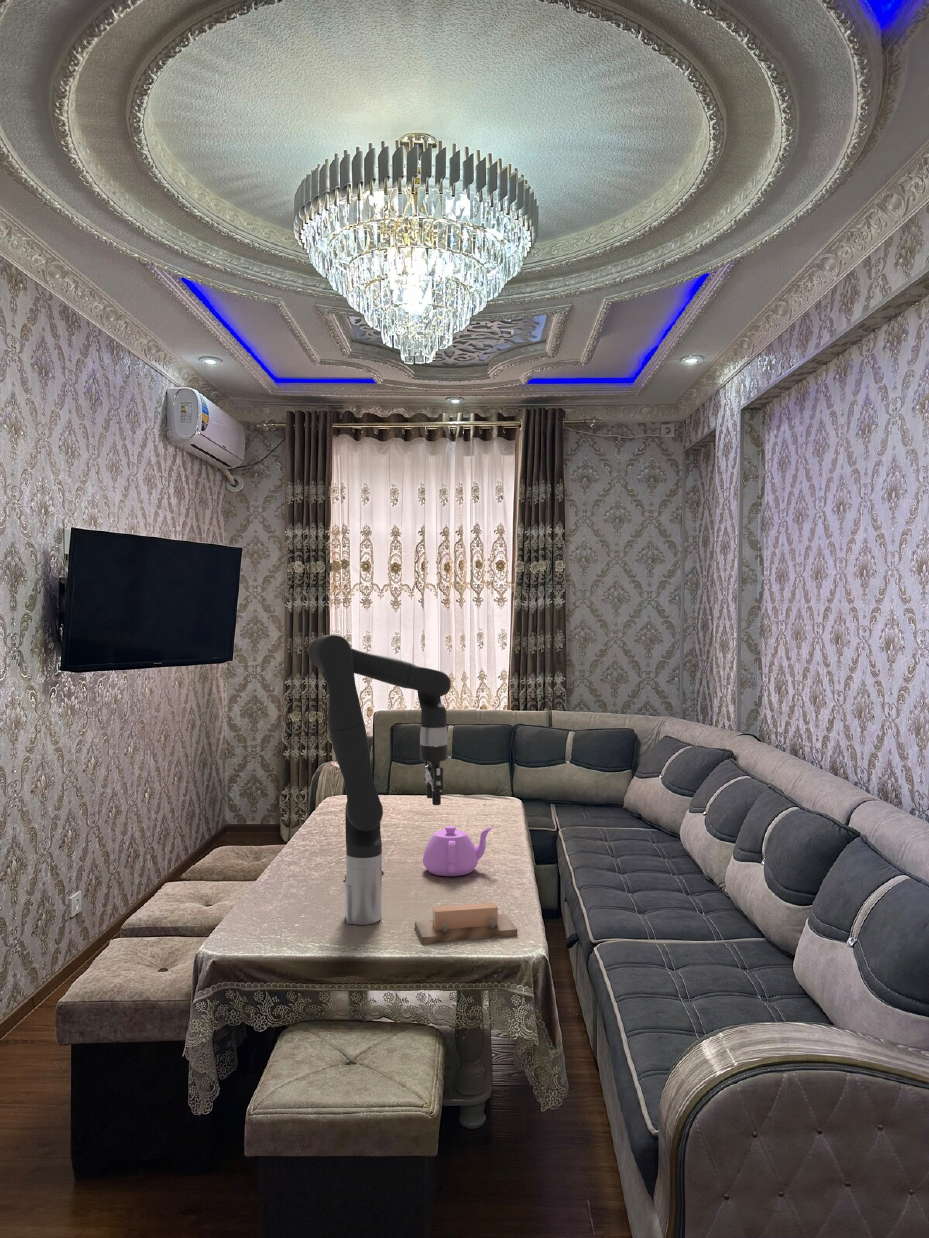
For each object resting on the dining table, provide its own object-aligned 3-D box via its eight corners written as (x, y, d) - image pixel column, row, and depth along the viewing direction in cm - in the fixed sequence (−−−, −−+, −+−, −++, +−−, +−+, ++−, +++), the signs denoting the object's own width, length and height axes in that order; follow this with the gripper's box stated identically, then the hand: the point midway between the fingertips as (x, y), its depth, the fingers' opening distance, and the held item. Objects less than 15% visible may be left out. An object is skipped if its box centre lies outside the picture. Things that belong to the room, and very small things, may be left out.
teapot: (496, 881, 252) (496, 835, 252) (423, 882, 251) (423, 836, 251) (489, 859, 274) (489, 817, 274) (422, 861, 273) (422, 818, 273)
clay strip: (434, 929, 210) (434, 911, 210) (432, 924, 213) (432, 906, 213) (497, 925, 213) (497, 907, 213) (494, 920, 216) (494, 902, 216)
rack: (422, 943, 205) (422, 926, 205) (414, 926, 215) (414, 911, 215) (517, 935, 210) (517, 919, 210) (505, 919, 221) (505, 904, 221)
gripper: (415, 739, 239) (415, 796, 239) (424, 747, 225) (424, 807, 225) (441, 738, 241) (441, 795, 241) (452, 746, 227) (452, 806, 227)
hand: (433, 801), depth 233 cm, fingers open, 8 cm apart
